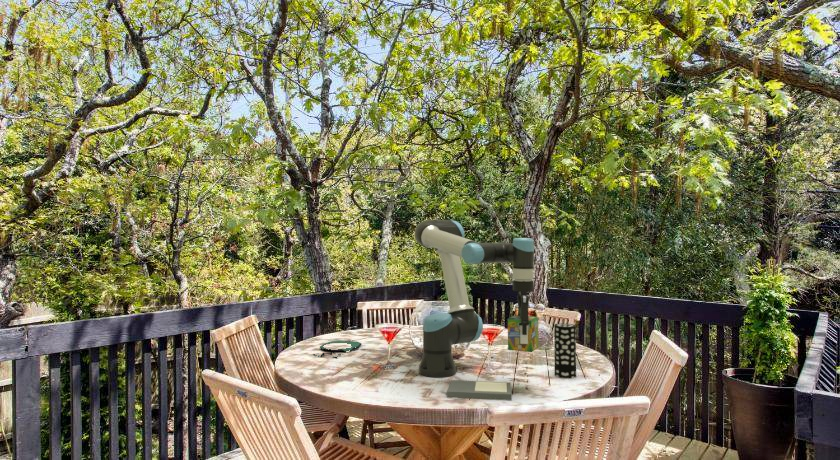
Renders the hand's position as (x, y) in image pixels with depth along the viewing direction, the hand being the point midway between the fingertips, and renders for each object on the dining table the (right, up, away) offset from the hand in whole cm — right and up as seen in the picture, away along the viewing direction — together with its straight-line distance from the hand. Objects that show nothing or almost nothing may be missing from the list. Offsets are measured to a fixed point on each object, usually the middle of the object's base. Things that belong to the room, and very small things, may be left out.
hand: (522, 340), depth 187 cm
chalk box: (0, -3, 0) cm, 3 cm away
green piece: (-78, -19, +62) cm, 102 cm away
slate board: (-16, -18, -5) cm, 25 cm away
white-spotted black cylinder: (+20, -18, +17) cm, 32 cm away
